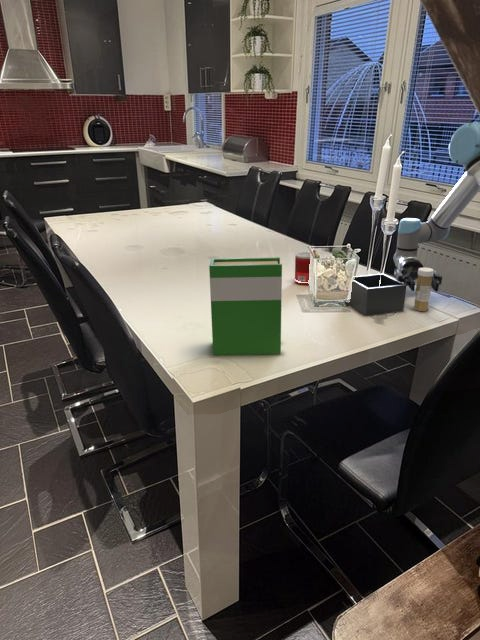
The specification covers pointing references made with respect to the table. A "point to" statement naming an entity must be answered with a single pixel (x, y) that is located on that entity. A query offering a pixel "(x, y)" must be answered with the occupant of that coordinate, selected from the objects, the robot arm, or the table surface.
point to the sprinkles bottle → (423, 289)
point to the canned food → (302, 267)
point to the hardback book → (246, 305)
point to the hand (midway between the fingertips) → (425, 287)
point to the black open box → (377, 294)
